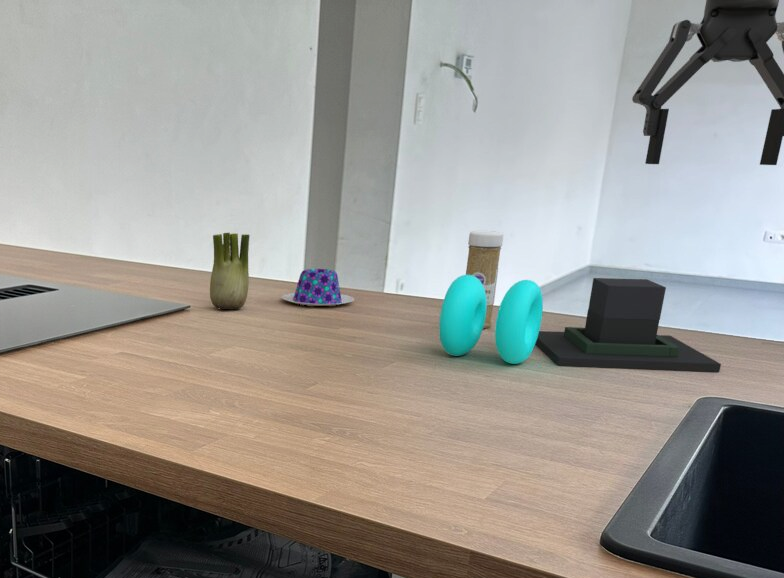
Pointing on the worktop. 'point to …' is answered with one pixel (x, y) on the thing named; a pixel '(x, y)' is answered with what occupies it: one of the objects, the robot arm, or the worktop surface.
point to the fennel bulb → (229, 271)
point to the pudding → (318, 289)
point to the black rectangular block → (620, 330)
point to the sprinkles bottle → (485, 264)
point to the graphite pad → (626, 298)
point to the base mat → (622, 353)
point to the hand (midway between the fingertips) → (709, 164)
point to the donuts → (512, 325)
